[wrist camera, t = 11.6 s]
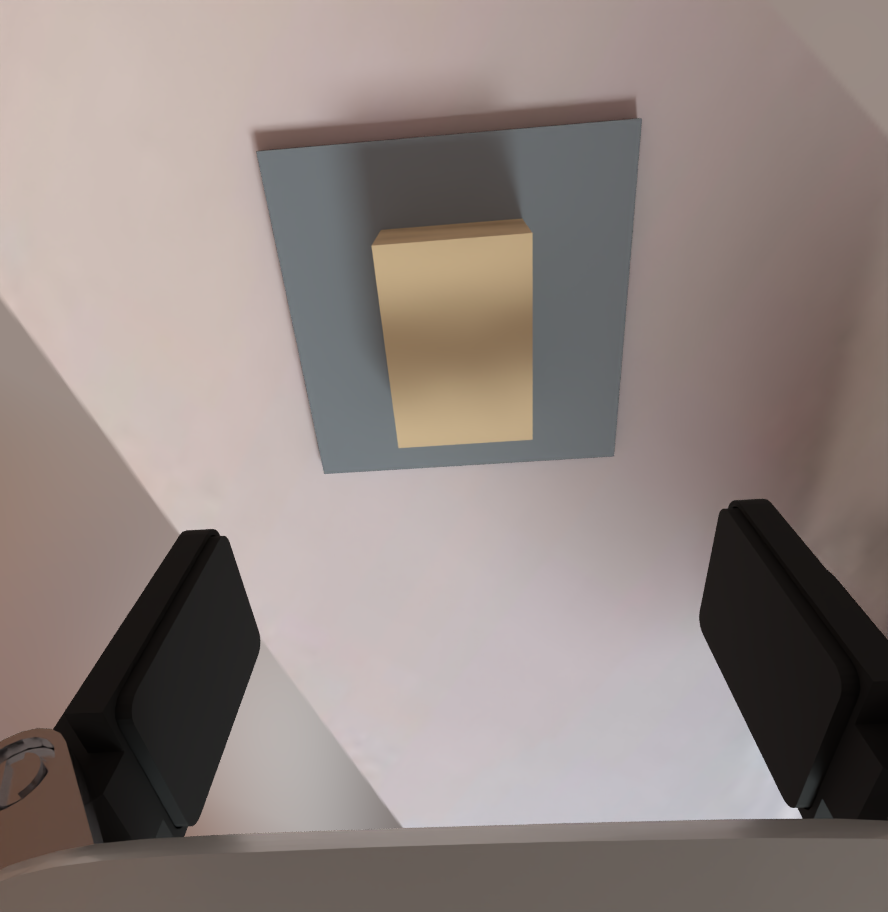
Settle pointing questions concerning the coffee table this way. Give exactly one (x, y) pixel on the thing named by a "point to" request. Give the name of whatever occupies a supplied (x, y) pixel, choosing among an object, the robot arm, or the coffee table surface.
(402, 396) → the light brown rectangular block
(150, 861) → the robot arm
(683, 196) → the coffee table surface
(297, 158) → the mat
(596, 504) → the coffee table surface
